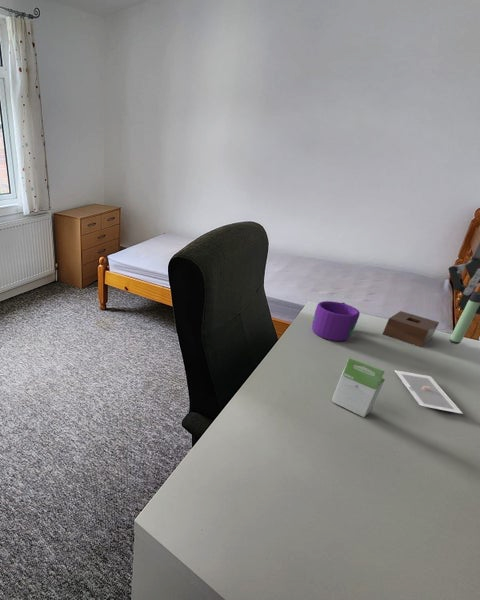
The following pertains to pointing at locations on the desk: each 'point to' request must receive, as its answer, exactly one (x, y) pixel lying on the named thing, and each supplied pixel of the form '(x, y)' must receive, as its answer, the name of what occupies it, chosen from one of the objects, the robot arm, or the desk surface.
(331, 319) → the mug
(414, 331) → the pen stand
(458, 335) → the marker
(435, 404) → the touchpad
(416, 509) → the desk surface
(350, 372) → the ink box
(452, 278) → the robot arm
